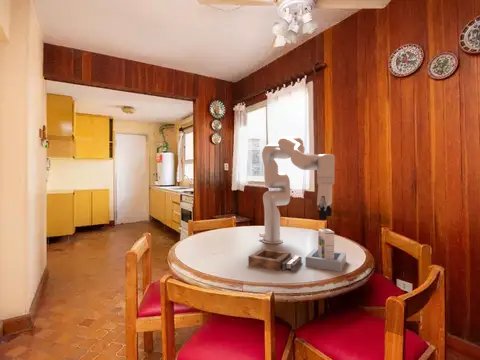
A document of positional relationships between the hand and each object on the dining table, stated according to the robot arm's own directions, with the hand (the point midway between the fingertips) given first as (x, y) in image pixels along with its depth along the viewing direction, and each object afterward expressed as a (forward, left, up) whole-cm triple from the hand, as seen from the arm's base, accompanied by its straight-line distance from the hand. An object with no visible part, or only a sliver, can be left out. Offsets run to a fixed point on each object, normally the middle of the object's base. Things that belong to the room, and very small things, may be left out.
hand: (325, 217), depth 121 cm
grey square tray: (0, 0, -21) cm, 21 cm away
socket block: (-20, -12, -21) cm, 31 cm away
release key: (-12, -11, -21) cm, 27 cm away
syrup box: (0, 0, -21) cm, 21 cm away
